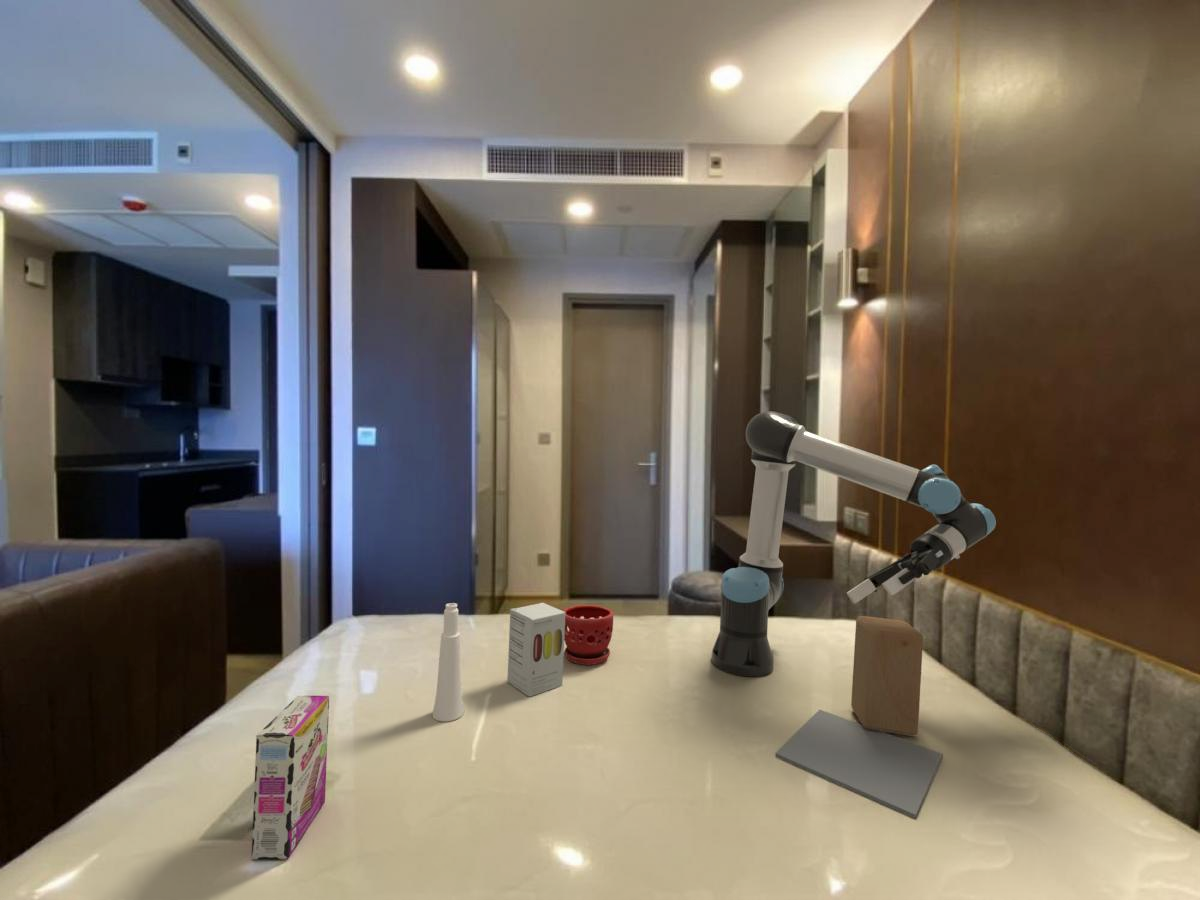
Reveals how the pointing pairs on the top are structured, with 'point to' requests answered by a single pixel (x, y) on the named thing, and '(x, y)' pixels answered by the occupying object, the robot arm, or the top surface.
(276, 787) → the candy bar box
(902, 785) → the mat
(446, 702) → the cosmetic bottle
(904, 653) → the wooden block
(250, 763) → the top surface
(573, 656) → the plant pot
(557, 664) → the supplement box
